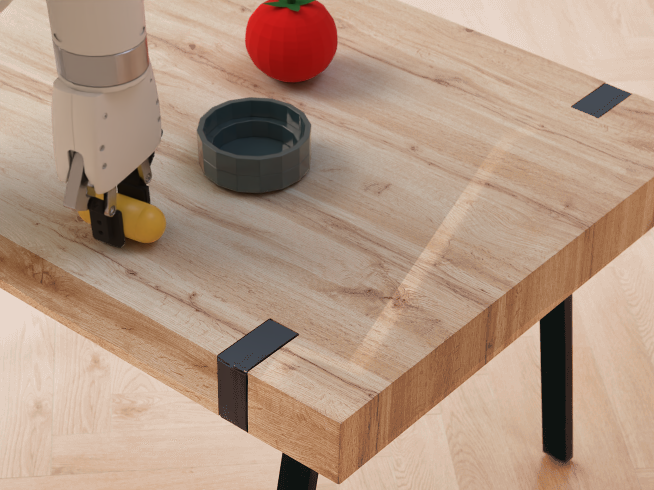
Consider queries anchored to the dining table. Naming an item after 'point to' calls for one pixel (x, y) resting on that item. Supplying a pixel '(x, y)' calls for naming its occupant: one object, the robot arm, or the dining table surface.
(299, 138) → the bowl
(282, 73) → the tomato
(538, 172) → the dining table surface
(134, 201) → the yellow capsule
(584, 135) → the dining table surface
